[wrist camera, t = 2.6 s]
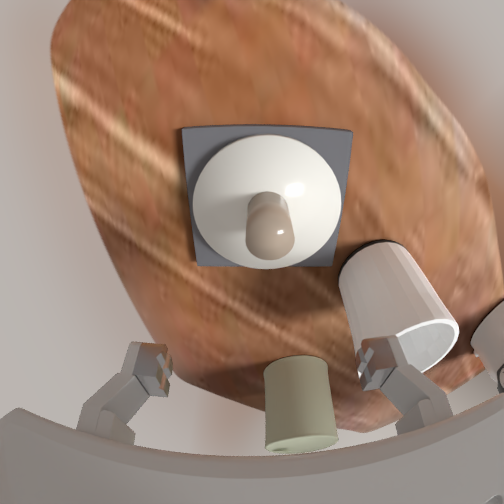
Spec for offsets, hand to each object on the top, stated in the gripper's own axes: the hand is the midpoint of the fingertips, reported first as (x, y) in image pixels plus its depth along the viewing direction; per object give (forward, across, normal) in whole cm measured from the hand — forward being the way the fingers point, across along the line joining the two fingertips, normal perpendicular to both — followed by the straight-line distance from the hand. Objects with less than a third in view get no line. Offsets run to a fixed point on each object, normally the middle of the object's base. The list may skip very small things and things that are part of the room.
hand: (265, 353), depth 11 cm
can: (+14, -6, +26) cm, 30 cm away
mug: (+14, -13, +8) cm, 20 cm away
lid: (+13, -1, 0) cm, 13 cm away
